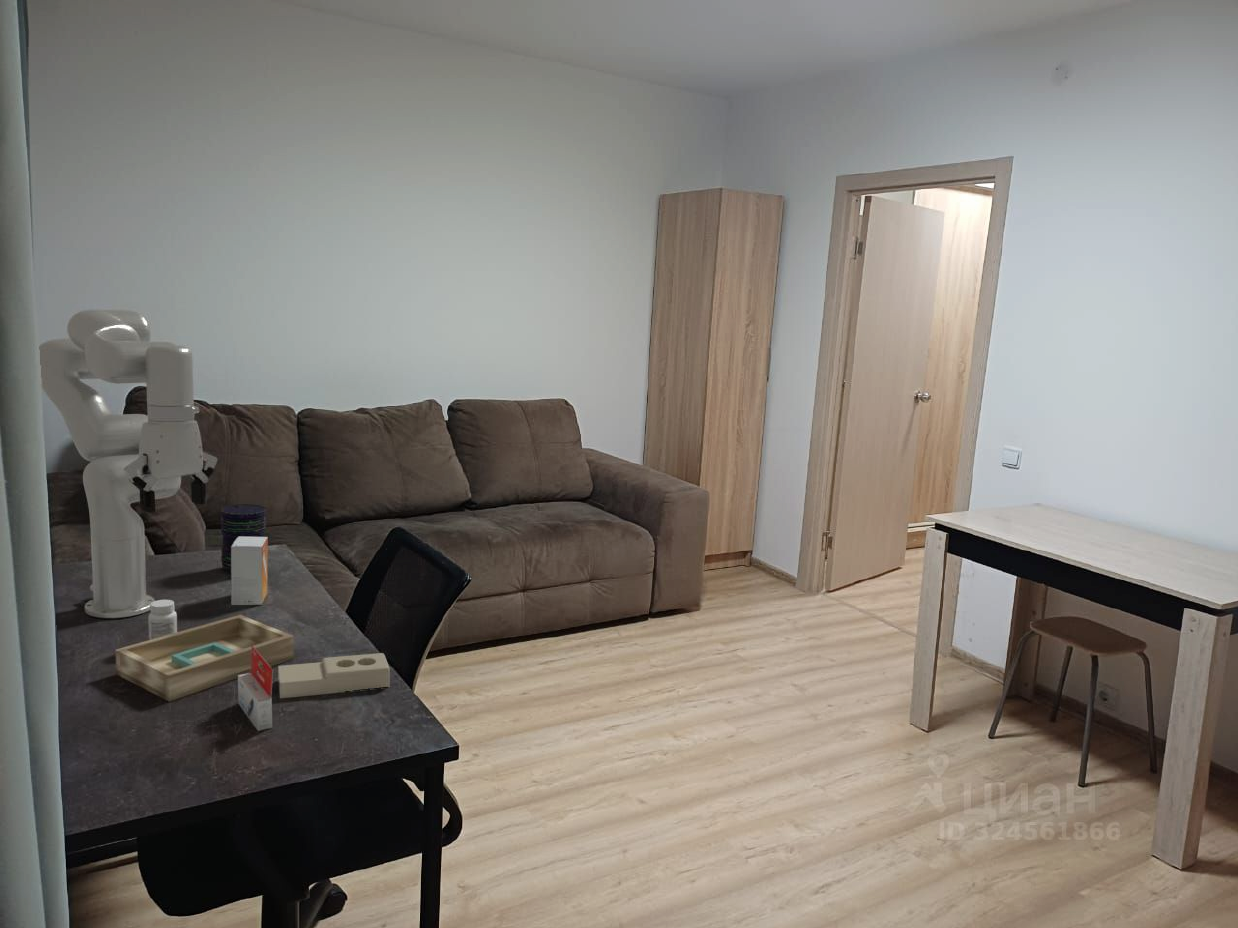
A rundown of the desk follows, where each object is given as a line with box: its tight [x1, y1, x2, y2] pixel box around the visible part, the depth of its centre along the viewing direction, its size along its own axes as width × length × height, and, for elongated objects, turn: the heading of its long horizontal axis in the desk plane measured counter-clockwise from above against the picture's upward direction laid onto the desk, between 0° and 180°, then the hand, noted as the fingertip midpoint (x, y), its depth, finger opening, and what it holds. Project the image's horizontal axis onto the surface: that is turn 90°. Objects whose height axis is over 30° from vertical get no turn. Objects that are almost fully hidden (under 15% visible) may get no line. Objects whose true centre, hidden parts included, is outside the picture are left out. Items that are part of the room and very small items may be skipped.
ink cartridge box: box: [237, 646, 274, 732], centre depth 146 cm, size 2×11×10 cm, turn 37°
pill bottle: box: [147, 599, 178, 640], centre depth 170 cm, size 5×5×8 cm
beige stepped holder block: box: [277, 652, 391, 699], centre depth 160 cm, size 7×4×18 cm
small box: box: [230, 536, 269, 606], centre depth 197 cm, size 8×6×13 cm
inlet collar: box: [171, 642, 235, 667], centre depth 163 cm, size 8×8×1 cm
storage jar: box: [220, 503, 267, 577], centre depth 216 cm, size 10×10×15 cm
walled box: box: [115, 614, 295, 702], centre depth 163 cm, size 16×24×4 cm, turn 147°
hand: (173, 507), depth 168 cm, fingers open, 9 cm apart
